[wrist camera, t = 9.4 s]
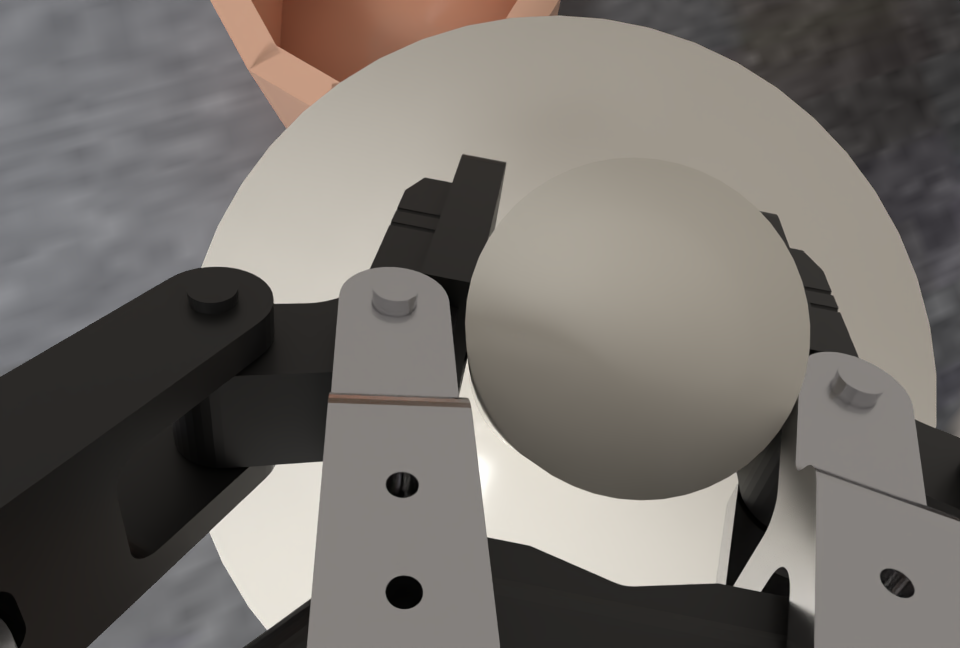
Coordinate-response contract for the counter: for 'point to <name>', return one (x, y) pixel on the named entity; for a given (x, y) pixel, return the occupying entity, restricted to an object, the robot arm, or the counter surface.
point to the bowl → (342, 37)
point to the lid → (584, 281)
